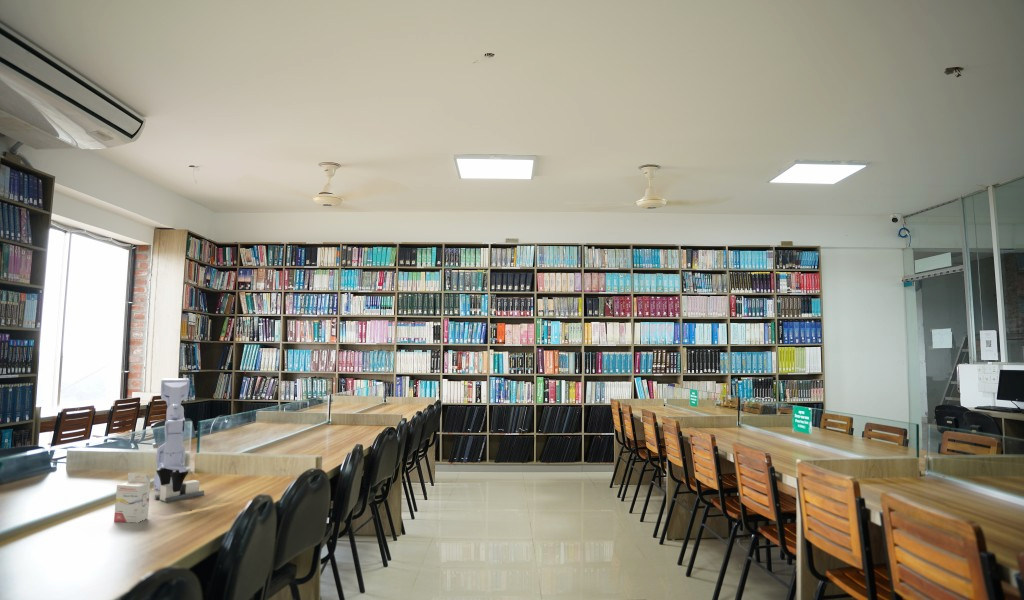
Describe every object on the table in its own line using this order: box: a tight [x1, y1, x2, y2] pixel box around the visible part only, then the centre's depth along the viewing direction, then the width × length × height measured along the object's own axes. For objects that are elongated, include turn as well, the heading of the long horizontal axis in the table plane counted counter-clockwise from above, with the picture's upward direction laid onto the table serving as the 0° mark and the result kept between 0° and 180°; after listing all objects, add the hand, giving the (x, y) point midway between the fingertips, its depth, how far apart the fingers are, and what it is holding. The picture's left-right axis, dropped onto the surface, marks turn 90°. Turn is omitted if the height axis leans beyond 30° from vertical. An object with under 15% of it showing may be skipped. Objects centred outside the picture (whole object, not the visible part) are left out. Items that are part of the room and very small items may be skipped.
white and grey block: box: [181, 479, 201, 495], centre depth 219 cm, size 4×6×5 cm
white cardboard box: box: [159, 483, 181, 501], centre depth 213 cm, size 4×6×5 cm
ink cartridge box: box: [113, 472, 151, 524], centre depth 190 cm, size 9×5×15 cm, turn 84°
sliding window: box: [153, 490, 205, 504], centre depth 216 cm, size 9×14×2 cm, turn 149°
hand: (170, 490), depth 213 cm, fingers open, 7 cm apart
